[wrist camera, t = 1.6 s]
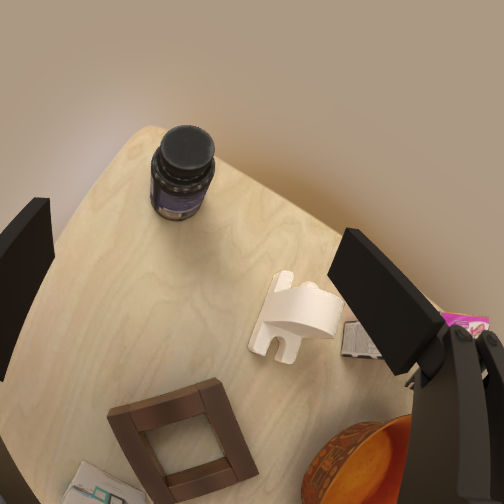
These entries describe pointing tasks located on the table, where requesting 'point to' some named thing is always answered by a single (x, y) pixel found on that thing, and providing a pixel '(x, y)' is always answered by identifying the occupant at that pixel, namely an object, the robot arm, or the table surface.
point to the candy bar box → (363, 347)
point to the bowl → (360, 465)
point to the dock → (172, 410)
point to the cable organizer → (294, 317)
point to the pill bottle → (181, 172)
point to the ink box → (99, 489)
